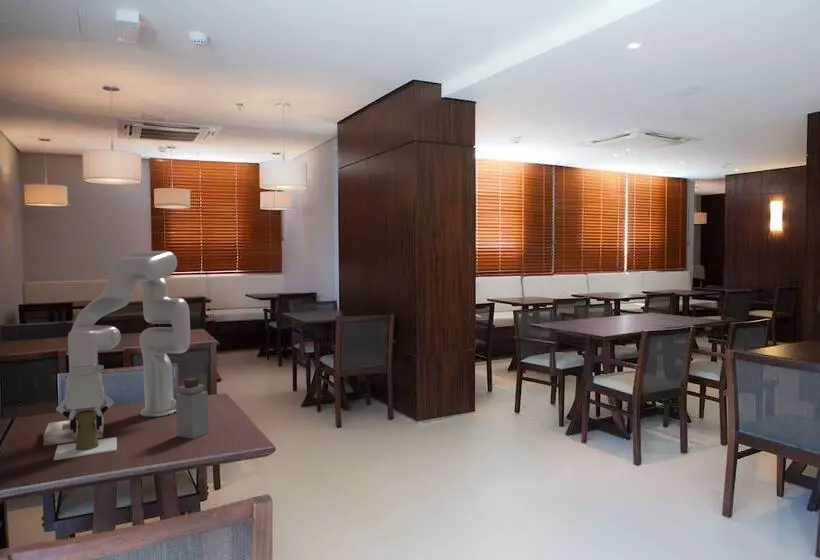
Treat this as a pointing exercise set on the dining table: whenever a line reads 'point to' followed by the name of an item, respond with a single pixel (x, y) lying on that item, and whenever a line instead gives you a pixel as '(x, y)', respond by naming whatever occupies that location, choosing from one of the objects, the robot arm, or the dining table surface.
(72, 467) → the dining table surface
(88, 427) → the cork
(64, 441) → the shaker holder
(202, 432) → the perfume bottle
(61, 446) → the grey mat
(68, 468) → the dining table surface
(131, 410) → the dining table surface
